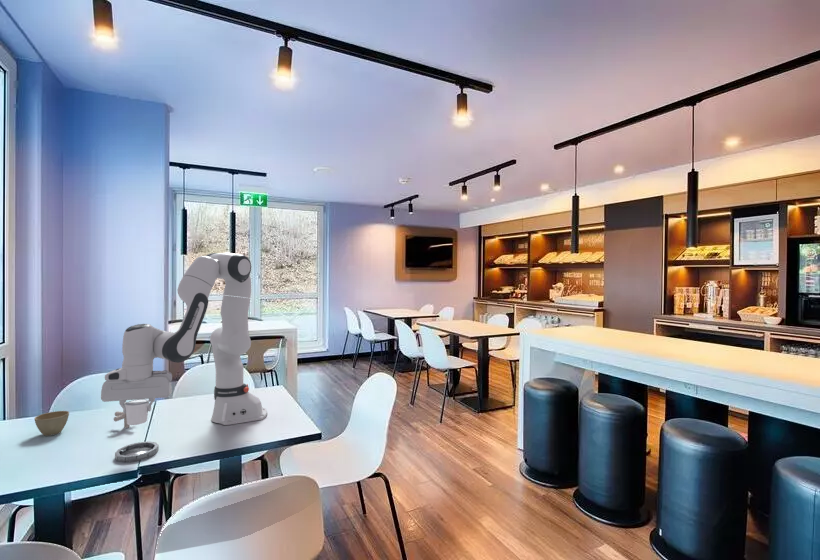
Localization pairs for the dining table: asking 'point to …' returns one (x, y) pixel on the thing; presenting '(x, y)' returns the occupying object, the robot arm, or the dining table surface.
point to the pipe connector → (121, 416)
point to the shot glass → (136, 411)
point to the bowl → (136, 452)
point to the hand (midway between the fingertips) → (137, 411)
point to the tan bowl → (51, 422)
